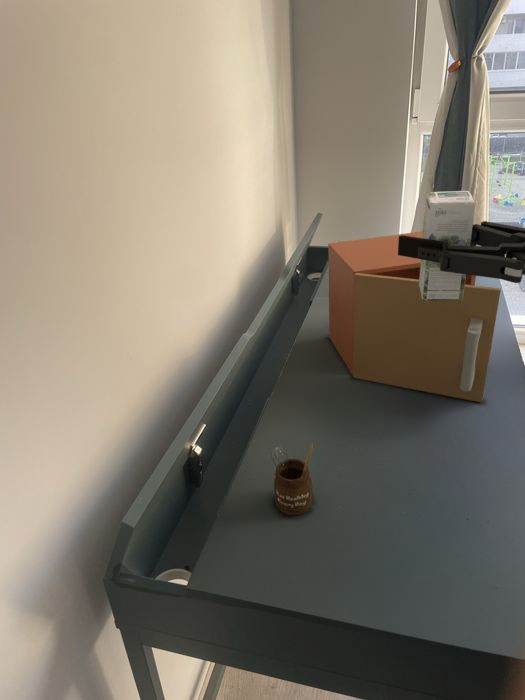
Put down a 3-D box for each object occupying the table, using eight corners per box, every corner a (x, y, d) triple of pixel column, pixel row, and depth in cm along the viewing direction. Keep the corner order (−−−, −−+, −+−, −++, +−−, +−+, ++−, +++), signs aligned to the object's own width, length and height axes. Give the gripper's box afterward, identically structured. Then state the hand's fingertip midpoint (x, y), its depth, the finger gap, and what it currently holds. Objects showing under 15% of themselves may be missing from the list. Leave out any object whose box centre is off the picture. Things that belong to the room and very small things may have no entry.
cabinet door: (477, 420, 98) (496, 304, 86) (343, 392, 109) (344, 286, 97) (482, 399, 103) (501, 288, 91) (354, 375, 114) (356, 272, 102)
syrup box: (457, 285, 80) (468, 188, 72) (463, 302, 75) (476, 199, 67) (418, 286, 81) (425, 190, 74) (421, 302, 76) (429, 201, 69)
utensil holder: (276, 488, 87) (271, 431, 81) (315, 489, 86) (313, 431, 80) (273, 516, 82) (268, 457, 76) (314, 517, 81) (312, 457, 75)
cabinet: (464, 357, 117) (479, 254, 105) (352, 375, 114) (354, 271, 102) (429, 322, 133) (437, 229, 121) (329, 337, 130) (328, 243, 118)
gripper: (560, 325, 59) (377, 284, 72) (601, 266, 72) (439, 241, 85) (575, 261, 55) (378, 231, 68) (615, 211, 68) (444, 194, 81)
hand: (412, 236), depth 77 cm, fingers closed on syrup box, 7 cm apart
